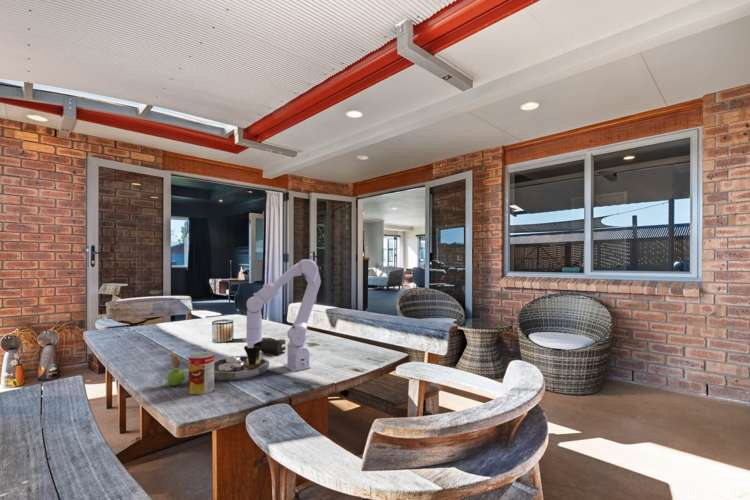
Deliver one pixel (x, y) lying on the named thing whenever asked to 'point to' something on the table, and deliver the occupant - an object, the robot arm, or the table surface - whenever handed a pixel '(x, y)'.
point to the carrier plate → (237, 369)
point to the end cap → (273, 346)
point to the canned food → (201, 372)
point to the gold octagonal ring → (257, 364)
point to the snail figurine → (175, 371)
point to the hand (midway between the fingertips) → (253, 362)
